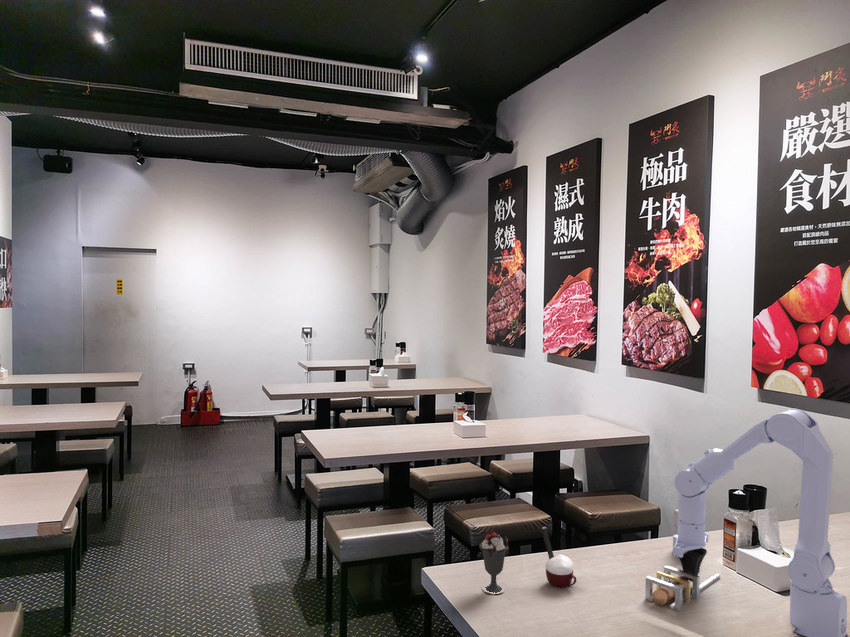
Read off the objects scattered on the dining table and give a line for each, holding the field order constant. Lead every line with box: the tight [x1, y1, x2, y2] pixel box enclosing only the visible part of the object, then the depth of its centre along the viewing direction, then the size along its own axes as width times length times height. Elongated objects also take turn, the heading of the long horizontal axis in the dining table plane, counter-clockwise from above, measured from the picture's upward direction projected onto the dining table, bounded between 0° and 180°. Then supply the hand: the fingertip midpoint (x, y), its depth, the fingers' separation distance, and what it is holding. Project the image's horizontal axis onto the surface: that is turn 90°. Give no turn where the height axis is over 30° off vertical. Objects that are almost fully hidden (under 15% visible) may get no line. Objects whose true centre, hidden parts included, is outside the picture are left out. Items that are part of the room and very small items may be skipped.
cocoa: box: [541, 526, 577, 589], centre depth 143 cm, size 10×6×12 cm, turn 18°
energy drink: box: [672, 507, 678, 548], centre depth 160 cm, size 5×5×12 cm
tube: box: [652, 574, 689, 607], centre depth 135 cm, size 12×3×3 cm, turn 134°
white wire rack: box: [645, 565, 721, 612], centre depth 139 cm, size 8×24×6 cm, turn 133°
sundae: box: [479, 525, 509, 593], centre depth 139 cm, size 7×7×15 cm
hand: (690, 579), depth 140 cm, fingers closed
